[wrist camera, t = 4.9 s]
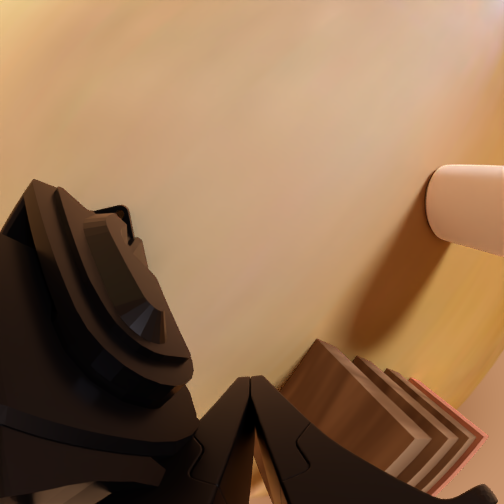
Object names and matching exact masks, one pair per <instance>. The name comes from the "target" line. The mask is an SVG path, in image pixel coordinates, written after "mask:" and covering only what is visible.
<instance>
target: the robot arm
mask: <svg viewBox="0 0 504 504" xmlns="http://www.w3.org/2000/svg"><path fill="white" fill-rule="evenodd" d="M118 210H122V211H123V212H124V217H123V218H122V219H120V218H119V217H118V216H117V211H118ZM190 356H191V355H190V352H189V350H188V348H187V346H186V343H185V341H184V339H183V337H182V335H181V333H180V331H179V329H178V326H177V324H176V322H175V320H174V318H173V315H172V313H171V311H170V309H169V306H168V304H167V302H166V299H165V297H164V295H163V292H162V290H161V288H160V285H159V283H158V280H157V278H156V277H155V276H154V275H153V273H152V272H151V271H150V270H149V269H148V265H147V261H146V256H145V252H144V247H143V243H142V240H141V239H139V238H138V237H136V238H135V237H134V232H133V227H132V222H131V217H130V212H129V209H128V208H127V207H126V206H124V205H117V206H113V207H109V208H105V209H100V210H96V211H89V210H87V209H86V208H85V207H83V206H82V205H81V204H80V203H79V202H78V201H77V200H76V199H74V198H73V197H72V196H71V195H70V194H69V193H68V192H67V191H66V190H64V189H63V188H61V187H57V188H56V187H54V186H51V185H48V184H46V183H43V182H41V181H38V180H35V179H33V180H32V182H31V183H30V184H29V186H28V187H27V189H26V190H25V192H24V193H23V195H22V196H21V198H20V200H19V201H18V203H17V204H16V206H15V207H14V209H13V211H12V212H11V214H10V216H9V217H8V219H7V221H6V223H5V224H4V226H3V228H2V230H1V231H0V504H249V496H250V486H251V476H252V466H253V456H254V445H255V429H256V435H257V439H258V443H259V447H260V451H261V455H262V459H263V463H264V467H265V471H266V475H267V479H268V483H269V486H270V490H271V494H272V498H273V501H274V504H496V503H497V502H498V500H497V498H496V496H495V495H494V494H493V492H492V491H491V490H490V488H488V487H487V486H486V485H485V484H481V485H478V486H476V487H474V488H472V489H470V490H468V491H466V492H465V493H463V494H461V495H459V496H457V497H454V498H451V499H440V498H436V497H434V496H432V495H430V494H428V493H426V492H423V491H421V490H419V489H417V488H415V487H413V486H411V485H409V484H407V483H405V482H404V481H402V480H400V479H398V478H396V477H394V476H392V475H390V474H389V473H387V472H385V471H383V470H381V469H380V468H378V467H376V466H374V465H373V464H371V463H369V462H367V461H366V460H364V459H362V458H361V457H359V456H357V455H356V454H354V453H352V452H351V451H349V450H348V449H346V448H344V447H343V446H341V445H340V444H338V443H337V442H335V441H334V440H332V439H331V438H329V437H328V436H327V435H326V434H325V433H323V432H322V431H321V430H320V429H319V428H317V427H316V426H315V425H314V424H313V423H311V422H310V421H309V420H308V419H307V418H306V417H305V416H304V415H303V414H302V413H301V412H300V411H299V410H298V409H297V408H296V407H294V406H293V405H292V404H291V403H290V402H289V401H288V400H287V399H286V398H285V397H284V396H283V395H282V394H281V393H280V392H279V391H278V390H277V389H276V388H275V387H274V386H273V385H272V384H271V383H270V382H269V381H268V380H267V379H266V378H265V377H264V376H262V375H260V376H252V377H251V379H250V377H238V378H237V379H236V380H235V381H234V383H233V384H232V385H231V386H230V387H229V388H228V389H227V391H226V392H225V393H224V394H223V395H222V396H221V397H220V399H219V400H218V401H217V402H216V403H215V404H214V405H213V406H212V407H211V409H210V410H209V411H208V412H207V413H206V414H205V415H204V416H203V417H202V418H201V420H200V421H199V419H198V418H197V417H196V411H195V408H194V405H193V401H192V398H191V395H190V392H189V390H188V388H187V387H186V385H185V384H186V383H187V382H188V381H189V380H190V379H191V378H192V375H193V371H194V370H193V363H192V359H191V357H190Z"/></svg>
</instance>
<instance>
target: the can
mask: <svg viewBox="0 0 504 504" xmlns="http://www.w3.org/2000/svg"><path fill="white" fill-rule="evenodd" d="M425 209H426V215H427V219H428V222H429V225H430V227H431V229H432V230H433V232H434V234H435V235H436V236H437V237H438V238H440V239H442V240H445V241H448V242H452V243H456V244H459V245H463V246H467V247H470V248H474V249H478V250H481V251H485V252H488V253H492V254H495V255H499V256H502V257H504V166H495V165H444V166H441V167H440V168H438V169H437V170H436V171H435V173H434V174H433V175H432V177H431V179H430V181H429V183H428V186H427V190H426V197H425Z"/></svg>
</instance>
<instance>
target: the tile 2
mask: <svg viewBox="0 0 504 504" xmlns="http://www.w3.org/2000/svg"><path fill="white" fill-rule="evenodd" d="M352 363H353V364H354V365H355V366H356V367H357V368H358V369H359V370H360V371H361V372H362V373H363V374H364V375H365V376H367V377H368V378H369V379H370V380H371V381H372V382H373V383H374V384H375V385H376V386H377V387H378V388H379V389H380V390H381V391H382V392H383V393H384V394H385V395H386V396H387V397H388V398H389V399H390V400H392V401H393V402H394V403H395V404H396V405H397V406H398V407H399V408H400V409H401V410H402V411H403V412H404V413H405V414H406V415H407V416H408V417H409V418H410V419H411V420H413V421H414V422H415V423H416V424H417V425H418V426H419V427H420V428H421V429H422V430H423V431H424V432H425V433H426V434H427V435H428V436H429V437H430V438H432V439H431V441H430V442H429V443H428V444H427V445H426V446H425V448H424V449H423V450H422V451H421V452H420V453H419V454H418V455H417V456H416V458H415V459H414V460H413V461H412V462H411V463H410V464H409V465H408V466H407V467H406V468H405V469H404V470H403V471H402V472H401V473H400V474H399V475H398V476H397V477H396V478H398V479H400V480H402V481H404V482H405V483H407V484H409V485H411V486H413V487H415V486H416V485H417V484H418V483H419V482H420V481H421V480H422V479H423V478H424V477H425V476H426V475H427V474H428V473H429V472H430V471H431V470H432V469H433V467H434V466H435V465H436V464H437V463H438V462H439V461H440V460H441V459H442V458H443V457H444V455H445V454H446V453H447V452H448V451H449V450H450V448H451V447H452V446H453V445H454V444H455V442H456V441H457V440H458V439H459V438H458V437H457V436H456V435H455V434H453V433H452V432H451V431H450V430H449V429H448V428H447V427H445V426H444V425H443V424H442V423H441V422H440V421H439V420H437V419H436V418H435V417H434V416H433V415H432V414H430V413H429V412H428V411H427V410H426V409H425V408H424V407H422V406H421V405H420V404H419V403H418V402H417V401H416V400H414V399H413V398H412V397H411V396H410V395H409V394H408V393H406V392H405V391H404V390H403V389H402V388H401V387H400V386H398V385H397V384H396V383H395V382H394V381H393V380H392V379H390V378H389V377H388V376H387V375H386V374H385V373H384V372H382V371H381V370H380V369H379V368H378V367H377V366H376V365H374V364H373V363H372V362H371V361H368V360H366V359H363V358H361V357H359V356H356V357H355V359H354V360H353V362H352Z"/></svg>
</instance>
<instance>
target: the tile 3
mask: <svg viewBox="0 0 504 504" xmlns="http://www.w3.org/2000/svg"><path fill="white" fill-rule="evenodd" d="M384 373H385V374H386V375H387V376H388V377H389V378H390V379H392V380H393V381H394V382H395V383H396V384H397V385H398V386H400V387H401V388H402V389H403V390H404V391H405V392H406V393H408V394H409V395H410V396H411V397H412V398H413V399H414V400H416V401H417V402H418V403H419V404H420V405H421V406H422V407H424V408H425V409H426V410H427V411H428V412H429V413H430V414H432V415H433V416H434V417H435V418H436V419H437V420H439V421H440V422H441V423H442V424H443V425H444V426H445V427H447V428H448V429H449V430H450V431H451V432H452V433H453V434H455V435H456V436H457V437H458V438H459V439H458V440H457V441H456V442H455V444H454V445H453V446H452V447H451V448H450V450H449V451H448V452H447V453H446V454H445V455H444V457H443V458H442V459H441V460H440V461H439V462H438V463H437V464H436V465H435V466H434V467H433V469H432V470H431V471H430V472H429V473H428V474H427V475H426V476H425V477H424V478H423V479H422V480H421V481H420V482H419V483H418V484H417V485H416V486H415V488H417V489H419V490H421V491H423V492H428V491H429V490H430V489H431V488H432V487H433V486H434V485H435V484H436V483H437V482H438V481H439V480H440V479H441V478H442V477H443V476H444V475H445V474H446V472H447V471H448V470H449V469H450V468H451V467H452V466H453V465H454V464H455V463H456V462H457V460H458V459H459V458H460V457H461V456H462V455H463V453H464V452H465V451H466V450H467V449H468V447H469V446H470V445H471V444H472V443H473V441H474V440H475V439H476V436H474V435H473V434H472V433H471V432H469V431H468V430H467V429H466V428H465V427H463V426H462V425H461V424H460V423H459V422H457V421H456V420H455V419H454V418H453V417H451V416H450V415H449V414H448V413H446V412H445V411H444V410H443V409H442V408H440V407H439V406H438V405H437V404H436V403H434V402H433V401H432V400H431V399H430V398H428V397H427V396H426V395H425V394H424V393H422V392H421V391H420V390H419V389H417V388H416V387H415V386H414V385H413V384H411V383H410V382H409V381H408V380H407V379H405V378H404V377H403V376H402V375H401V374H399V373H398V372H395V371H393V370H390V369H388V368H387V369H386V370H385V372H384Z"/></svg>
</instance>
